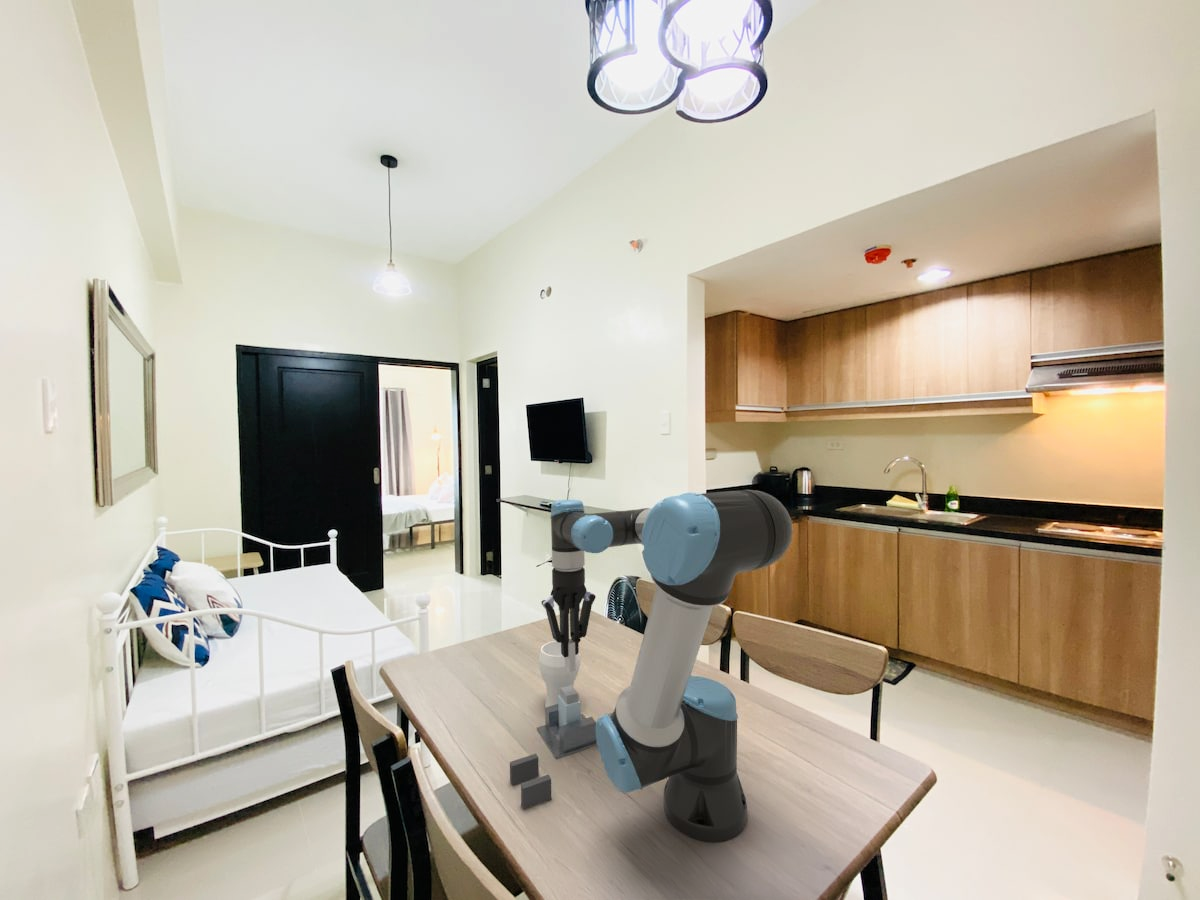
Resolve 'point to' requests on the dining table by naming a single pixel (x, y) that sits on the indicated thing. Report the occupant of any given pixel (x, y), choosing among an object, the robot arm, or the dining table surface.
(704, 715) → the robot arm
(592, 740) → the port
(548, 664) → the cup
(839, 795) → the dining table surface
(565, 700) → the plug
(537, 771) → the pair of dark bars
